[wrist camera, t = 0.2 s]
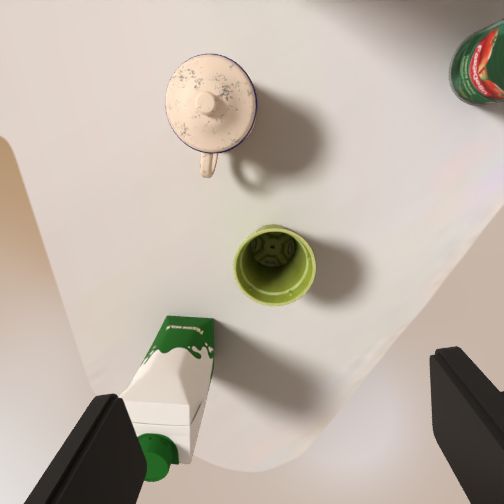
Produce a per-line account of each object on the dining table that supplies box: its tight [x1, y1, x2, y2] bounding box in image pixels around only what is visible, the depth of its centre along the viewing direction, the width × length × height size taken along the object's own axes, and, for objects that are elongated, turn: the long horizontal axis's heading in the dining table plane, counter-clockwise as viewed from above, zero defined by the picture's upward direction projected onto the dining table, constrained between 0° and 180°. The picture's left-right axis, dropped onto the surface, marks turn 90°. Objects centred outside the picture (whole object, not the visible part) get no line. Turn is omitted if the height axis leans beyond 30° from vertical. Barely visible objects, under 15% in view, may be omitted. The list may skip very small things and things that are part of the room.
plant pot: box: [233, 225, 316, 306], centre depth 43 cm, size 9×9×9 cm
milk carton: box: [118, 316, 214, 482], centre depth 43 cm, size 9×9×20 cm
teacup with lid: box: [165, 54, 257, 178], centre depth 37 cm, size 12×9×12 cm
